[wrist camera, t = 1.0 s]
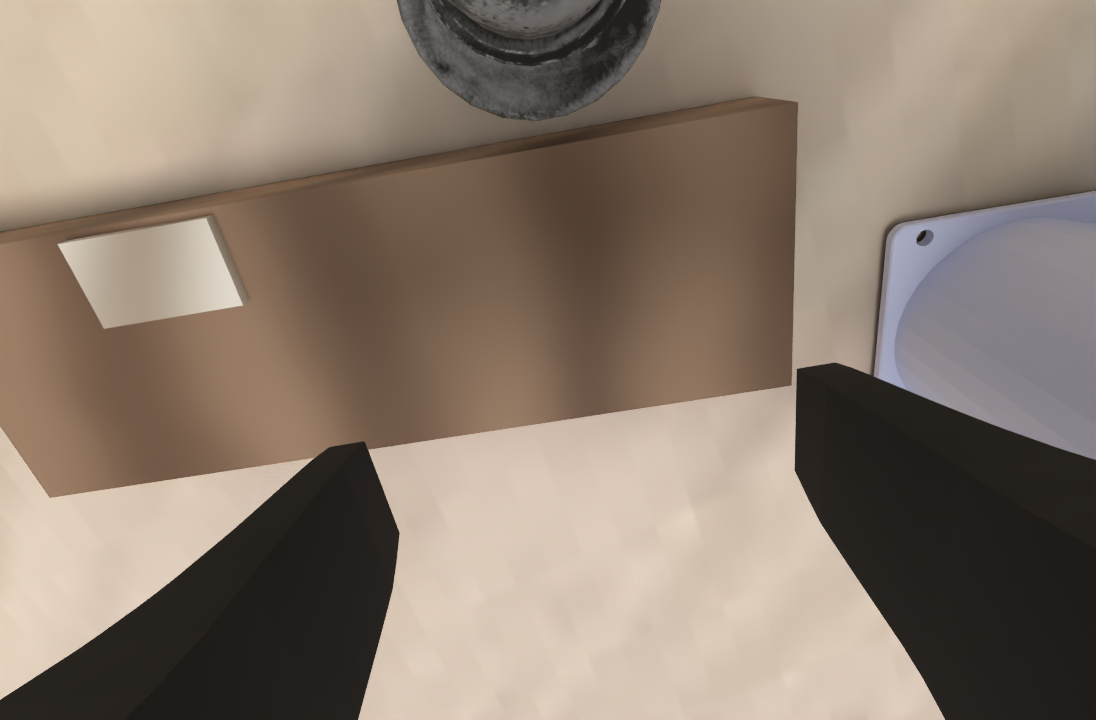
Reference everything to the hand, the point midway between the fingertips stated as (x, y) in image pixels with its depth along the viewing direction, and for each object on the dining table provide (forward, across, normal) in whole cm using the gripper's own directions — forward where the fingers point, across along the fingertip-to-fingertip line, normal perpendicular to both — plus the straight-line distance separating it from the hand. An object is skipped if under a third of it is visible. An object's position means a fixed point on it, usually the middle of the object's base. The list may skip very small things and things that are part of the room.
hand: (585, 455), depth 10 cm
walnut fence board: (+10, +6, 0) cm, 12 cm away
